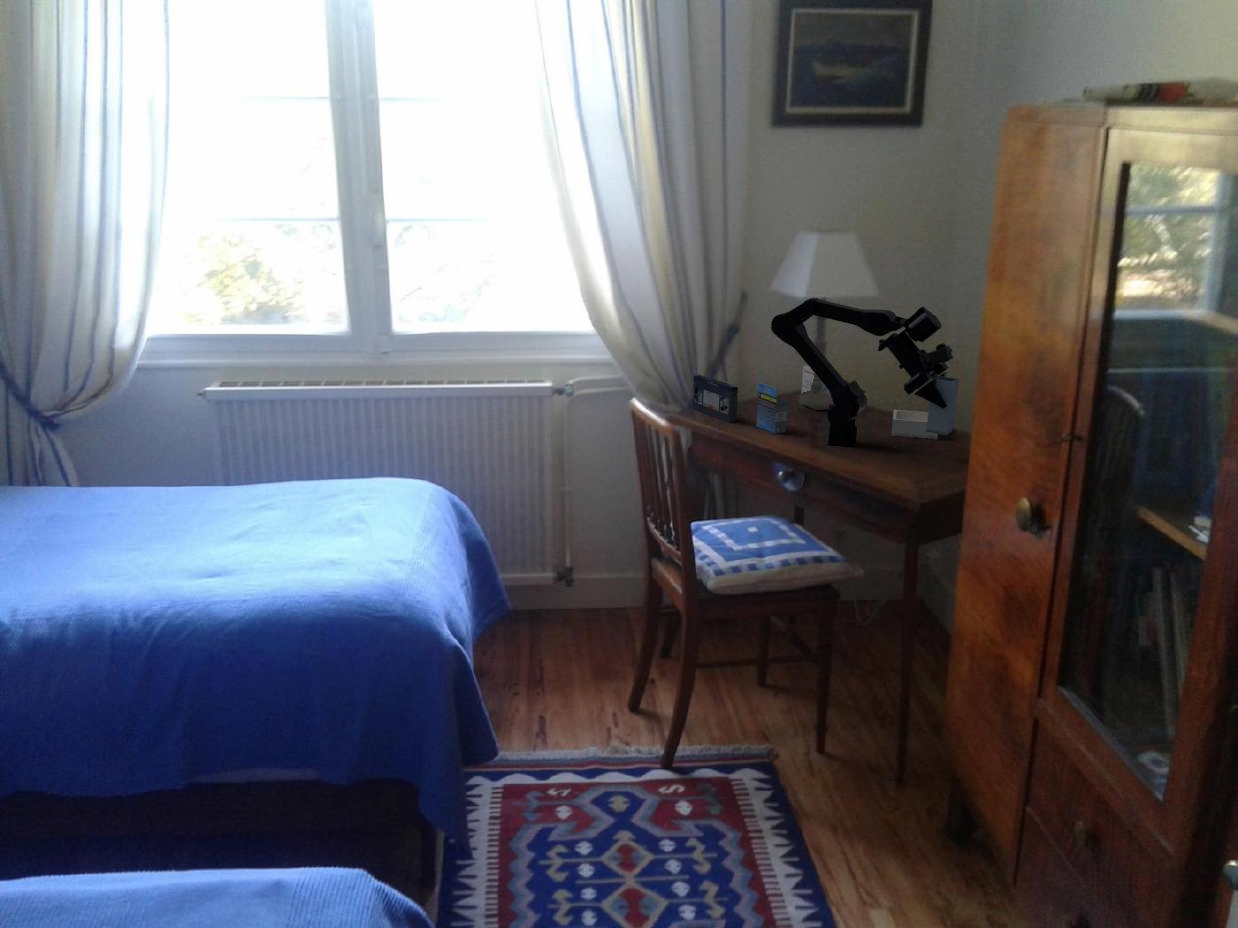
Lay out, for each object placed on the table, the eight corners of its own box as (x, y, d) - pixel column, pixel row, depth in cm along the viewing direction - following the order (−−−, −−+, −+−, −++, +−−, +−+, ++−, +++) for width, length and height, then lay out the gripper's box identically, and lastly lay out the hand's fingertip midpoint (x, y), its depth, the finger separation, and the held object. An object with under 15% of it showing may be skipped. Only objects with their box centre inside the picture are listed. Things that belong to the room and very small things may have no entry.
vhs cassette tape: (691, 409, 305) (693, 375, 303) (700, 408, 307) (702, 374, 304) (727, 423, 290) (729, 387, 287) (737, 422, 291) (738, 386, 289)
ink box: (830, 410, 307) (833, 370, 304) (815, 411, 305) (818, 371, 302) (814, 404, 315) (817, 364, 311) (799, 405, 313) (802, 365, 310)
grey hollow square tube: (925, 431, 258) (932, 379, 254) (931, 427, 262) (938, 375, 258) (946, 435, 255) (953, 382, 252) (952, 431, 259) (959, 378, 256)
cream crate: (891, 435, 281) (892, 419, 279) (892, 425, 291) (893, 409, 290) (937, 439, 278) (938, 423, 277) (936, 428, 289) (938, 413, 287)
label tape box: (786, 432, 281) (789, 387, 278) (773, 434, 280) (776, 388, 276) (767, 425, 289) (770, 380, 285) (754, 426, 287) (757, 381, 284)
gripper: (923, 338, 246) (965, 392, 244) (944, 328, 261) (984, 378, 259) (886, 368, 252) (927, 420, 250) (909, 356, 268) (948, 405, 265)
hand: (948, 405), depth 256 cm, fingers closed on grey hollow square tube, 5 cm apart
